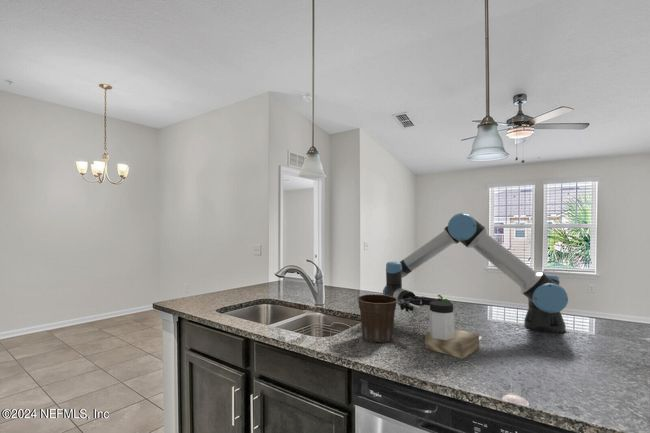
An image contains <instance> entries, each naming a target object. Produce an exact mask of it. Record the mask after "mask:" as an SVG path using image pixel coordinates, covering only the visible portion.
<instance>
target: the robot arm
mask: <svg viewBox="0 0 650 433" xmlns="http://www.w3.org/2000/svg"><path fill="white" fill-rule="evenodd" d="M459 243H461V244H463V246H465V247H466V248H467V249H468V248H469V249H470V248H472V249H473V250H475V251H476V252H477V253H478V254H480V255H481V256H482V257H483V258H484V259H486V260H487V261H488V262H489V263H491V264H492V265H493V266H494V267H495V268H497V269H498V270H499V271H501V272H502V273H503V274H504V275H505V276H507V277H508V278H509V279H510V280H511V281H512V282H514V283H515V284H516V285H517V286H519V288H520V293H521V294H522V295H524V296H525V297H526V298H527V301H528V304H527V305H528V308H527V311H526V314H525V317H524V321H523V322H524V326H525V327H526V328H529V329H531V330H535V331H537V332H538V331H539V332H545V333H564V332H566V330H567V329H566V328H567V327H566V323H565V320H564V318H563V315H562V313H561V311H563V310H564V309H565V308H566V307H567V305H568V302H569V296H568V293H567V292H566V290H565V288H564V287H562V286H561V285H560V283H561V282H560V277H559V276H557V275H550V274H549V275H546V273H544V272H542V271H539V272H538V271H536V270H534V269H533V268H531V267H530V266H529V265H527V264H526V263H525V262H524V261H522V260H521V259H520V258H518V257H517V256H516V255H515V254H513V253H512V252H511V251H510V250H509V249H507V248H506V247H505V246H503V245H502V244H501V243H500V242H498V241H497V240H496V239H495V238H493V237H492V236H491V235H489V234H488V232H487V227H485V226H484V225H482V224H481V223H480V222H479V221H477V219H475V218H474V217H473V216H472V215H470V214H468V213H463V212H460V213H457V214H454V215H453V216H452V217H451V218H450V219H449V221H448V223H447V225H446V226H445V227H444V228H443V231H442V232H440V233H439V234H437V235H436V236H434V237H433V238H432V239H430V240H429V241H427V242H426V243H424V244H423V245H422V246H420V247H419V248H418V249H416V250H414V251H413V252H412V253H410V254H409V255H408V256H406V257H405V258H403V259H402V260H400V261H388V262H386V266H385V275H386V276H385V277H386V278H385V282H386V284H385V286H384V287H383V290H382V295H388V296H392V297H395V298H397V302H396V305H398V306H399V307H400V310H401V311H403V310H405V312H407V313H409V311H411V312H413V313H414V314H418V315H420V314H421V310H420V308H421V307H423V306H429V307H430V302H432V301H442V300H440V299H441V298H440V299H438V298H432V297H426V296H421V297H420V296H417V295H416V294H415V293H414V292H413V291H410V290H407V289H404V288H403V287H402V286H403V281H402V280H403V278H405V277H407V276H408V275H409V274H411V273H412V272H414V270H416V269H418V268H419V267H420V266H423V264H425V263H426V262H428V261H430V260H431V259H432V258H434V257H436V256H437V255H438V254H440V253H441V252H443V251H444V250H446V249H447V248H449V247H450V246H452V245H453V244H456V245H457V244H459ZM420 306H421V307H420Z"/></svg>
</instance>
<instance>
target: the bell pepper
mask: <svg viewBox="0 0 650 433" xmlns="http://www.w3.org/2000/svg"><path fill="white" fill-rule="evenodd" d="M437 297H439V298H437V299H440V300H442V301H446V302H450V303H452V302H451V300H449V299H448V298H443V296H442V295H441V294H437Z"/></svg>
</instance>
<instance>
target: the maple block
mask: <svg viewBox="0 0 650 433" xmlns="http://www.w3.org/2000/svg"><path fill="white" fill-rule="evenodd" d="M479 336H480V334H478V333H474V332H471V331H465V330H461V329H456V328H455V338H454V339H449V340H441V339H436V338H432V336H431V335H430V331H429V332H427V333H425V334H424V345H425V346H424V349H427V350H431V351H434V352H438V353H441V354H445V355H448V356H452V357H454V358H458V359H462V360H463V359H465V358H466V357H468V356H470V355H471V354H472V353H474V352H476V351H477V350H479V349H480V341H479Z"/></svg>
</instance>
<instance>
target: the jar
mask: <svg viewBox="0 0 650 433" xmlns="http://www.w3.org/2000/svg"><path fill="white" fill-rule="evenodd" d="M450 302H451V301H450ZM450 302H446V301H432V302H430V306H429V309H428V313H429V314H428V316H429V317H428V318H429V321H428V322H429V327H428V328H429V332H430V335H431V336H432V338H436V339H441V340H449V339H454V338H455V329H456V328H455V312H454V303H453V302H451V303H450Z"/></svg>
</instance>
